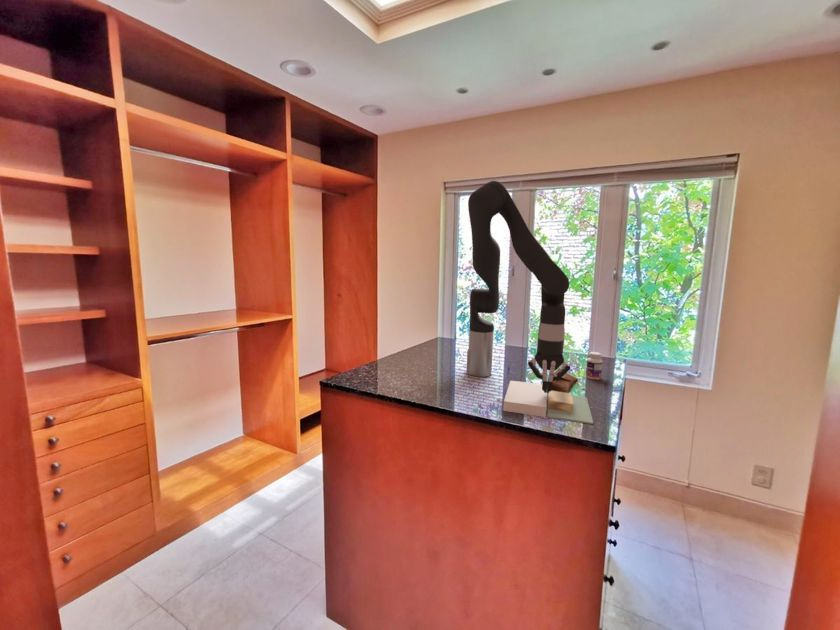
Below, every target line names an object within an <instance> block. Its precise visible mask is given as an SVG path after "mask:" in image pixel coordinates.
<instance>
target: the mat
mask: <svg viewBox="0 0 840 630" xmlns="http://www.w3.org/2000/svg"><path fill="white" fill-rule="evenodd" d="M572 397H573V411H572V412H568V411H562V410H556V409H550V408H547V418H551V419H557V420H562V421H563V420H564V421H571V422H576V423H581V424H583V423H584V424H590V425H593V424H594V420H593V416H592V413H591V412H592V411H591V409H590V405H589V402H588V398H587V397H585V396H580V395H572Z"/></svg>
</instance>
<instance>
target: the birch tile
mask: <svg viewBox="0 0 840 630" xmlns="http://www.w3.org/2000/svg"><path fill="white" fill-rule="evenodd" d="M572 396H573V393H570V392H569V393H565V392H559V391H554V390H551V392H550V391H549V393H547V406H546V409H548V408H550V409H556V410H562V411H568V412H572V411H573V397H572Z"/></svg>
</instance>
